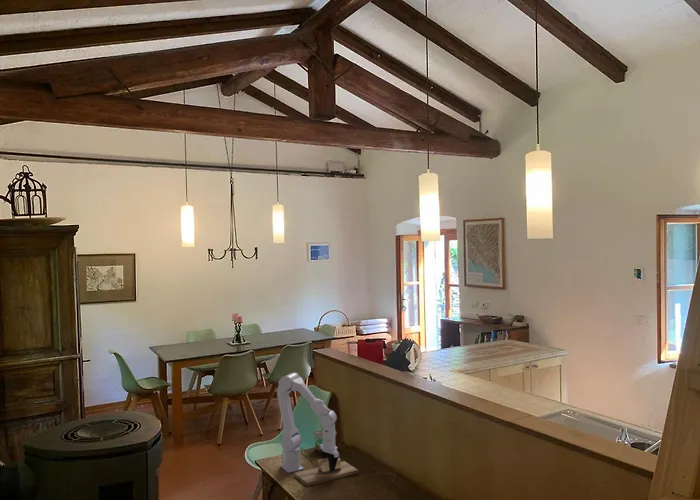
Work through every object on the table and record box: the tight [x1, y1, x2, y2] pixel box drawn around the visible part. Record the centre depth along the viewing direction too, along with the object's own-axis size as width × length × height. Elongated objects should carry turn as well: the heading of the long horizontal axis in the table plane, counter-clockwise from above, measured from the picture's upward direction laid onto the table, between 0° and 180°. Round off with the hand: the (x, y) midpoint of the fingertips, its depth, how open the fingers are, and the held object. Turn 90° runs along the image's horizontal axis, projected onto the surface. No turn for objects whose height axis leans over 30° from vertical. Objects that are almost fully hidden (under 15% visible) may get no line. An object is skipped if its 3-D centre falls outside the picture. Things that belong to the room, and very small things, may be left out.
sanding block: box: [317, 457, 342, 474], centre depth 248 cm, size 5×9×5 cm, turn 121°
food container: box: [312, 429, 338, 453], centre depth 277 cm, size 12×6×10 cm, turn 81°
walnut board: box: [293, 460, 359, 487], centre depth 247 cm, size 13×26×2 cm, turn 121°
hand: (329, 468), depth 248 cm, fingers closed on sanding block, 5 cm apart
